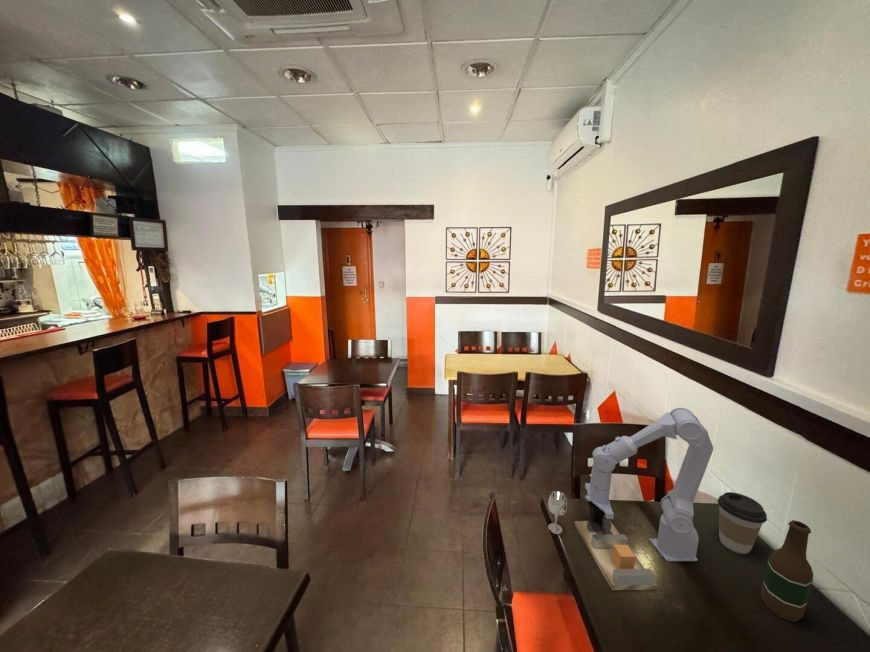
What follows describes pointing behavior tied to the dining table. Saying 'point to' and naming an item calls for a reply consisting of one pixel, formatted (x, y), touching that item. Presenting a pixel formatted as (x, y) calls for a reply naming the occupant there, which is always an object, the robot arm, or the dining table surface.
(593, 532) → the vise bed
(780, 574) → the beer bottle
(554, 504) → the wineglass
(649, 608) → the dining table surface
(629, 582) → the fixed jaw
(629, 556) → the orange block
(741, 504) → the coffee cup
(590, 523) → the moving jaw
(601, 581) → the dining table surface
